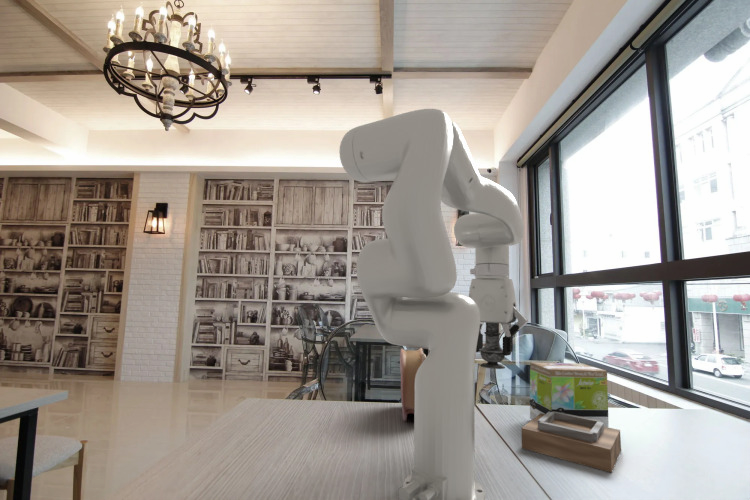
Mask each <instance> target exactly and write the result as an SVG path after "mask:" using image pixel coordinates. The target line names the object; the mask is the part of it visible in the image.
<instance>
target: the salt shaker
mask: <svg viewBox="0 0 750 500" xmlns="http://www.w3.org/2000/svg"><path fill="white" fill-rule="evenodd" d="M483 333H484V335H485V343H484V345H483V348H482V349H479V351H480V353H479V354H480V357H481V359H482V360H484V361H485V362H483V363H481V364H480V365H479V366H480V367H481V368H486V369H494V370H501V369H502V370H504V369H506V366H504V365H503V364H500V363H501V362H503V360H504V359H505V355H503V347H501V343H500V335H501V334H502V333H501V332H500V323H485V331H484V332H483Z"/></svg>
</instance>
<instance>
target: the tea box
mask: <svg viewBox="0 0 750 500" xmlns="http://www.w3.org/2000/svg"><path fill="white" fill-rule="evenodd" d="M529 364H530V365H529V367H530V368H529V419H531V420H533V419H534V418H535V417H537V416H538V415H539V414H540V413H542V414H546V413H548V412H552V411H555V412H560V413H565V414H570V415H575V416H580V417H585V418H590V419H595V420H600V421H601V422H602V423H604V427H608V428H609V400H608V399H609V398H608V397H609V396H608V395H609V393H608V371H607V370H606V369H602V368H599V367H595V366H591V365H588V364H585V363H576V362H575V363H570V362H569V363H567V362H540V361H539V362H538V361H536V362H533V361H531V362H529Z"/></svg>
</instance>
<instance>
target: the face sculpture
mask: <svg viewBox="0 0 750 500" xmlns="http://www.w3.org/2000/svg"><path fill="white" fill-rule="evenodd" d="M426 357H427V355H426V354H425V353H424V349H423V348H418V349H417V350H405V349H404V348H401V349H400V352H399V371H400V397H401V401H400V402H401V408H402V409H401V410H402V411H401V412H402V421H403V422H404V421H405V423H406V422H408V419H407V418H408V416H409V415H412V414H413V415H414V410H415V377H416V373H417V370H418V369H419V367H420V365H421V364H422V363H423V361H424V360H425V359H426Z"/></svg>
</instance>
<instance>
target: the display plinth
mask: <svg viewBox="0 0 750 500" xmlns="http://www.w3.org/2000/svg"><path fill="white" fill-rule="evenodd" d="M621 439H622V438H621V430H620V429H617V428H612V427H609V426H608V427H604V423H602V422H601V421H600V420H595V419H590V418H585V417H580V416H575V415H570V414H565V413H560V412H555V411H552V412H548V413H546V414H542V413H540V414H539V415H538V416H537V417H535V418H534V419H533V420H532V419H531V420H530V421H529V422H528V423H526V424H525V425H523V426H522V427H521V449H524V450H527V451H531V452H535V453H539V454H542V455H547V456H549V457H553V458H557V459H561V460H564V461H567V462H571V463H575V464H579V465H582V466H586V467H589V468H593V469H596V470H599V471H603V472H607V473H611V474H612V473H613V471H612V470H614V469H615V466H614V465H616V463H617V461H618V459H617V458H619V456H620V453H621V451H622V443H621V442H622V441H621Z"/></svg>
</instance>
